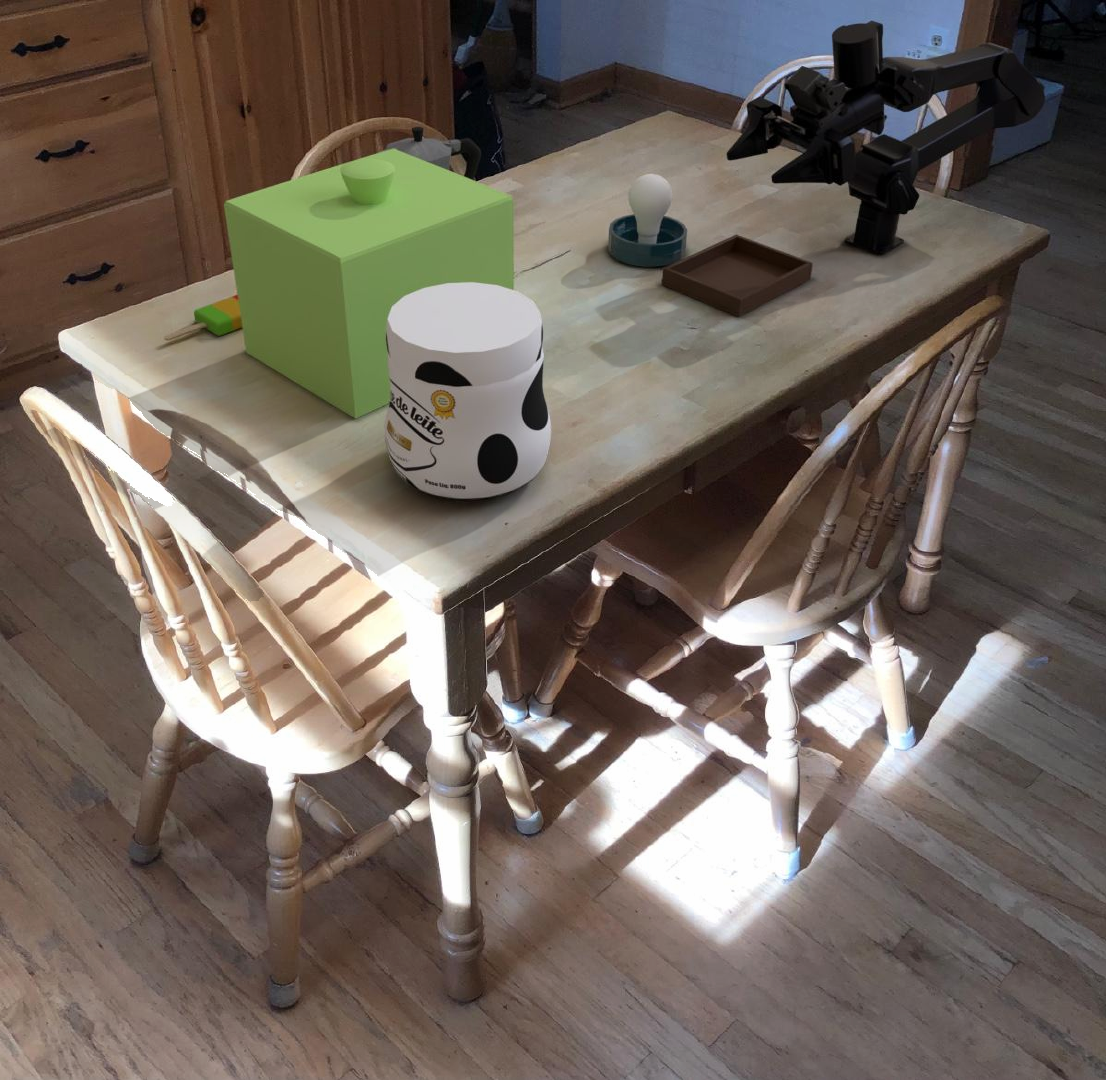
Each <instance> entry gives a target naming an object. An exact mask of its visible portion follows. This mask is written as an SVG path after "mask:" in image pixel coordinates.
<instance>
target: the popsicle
mask: <svg viewBox="0 0 1106 1080" xmlns="http://www.w3.org/2000/svg"><path fill="white" fill-rule="evenodd" d="M193 318H194V321H195V323H196V324H193V325H190V326H187V327H184V328H183V329H179V330H177V331H174V332H171V333H169V334H166V335H164V336H163V339H164V341H166V342H167V341H172V340H175V339H178V338H180V337H183V336H185V335H188V334H191V333H194V332H196V331H198V330H201V329H204V328H205V330H208V331H210V332H212V333H213V334H214V335H216V336H218V337H220V336H223V335H227V334H229V333H231V332H234V331H236V330H238V329H242V328H243V327H242V321H241V314H240V308H239V301H238V295H237V294H235V295H232V296H230V297H227V298H224V299H221V300H218V301H216V302H213V303H210V304H207V305H205V306H202V307H199V308H196V309H195V310H194V311H193Z"/></svg>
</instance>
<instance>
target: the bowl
mask: <svg viewBox="0 0 1106 1080" xmlns="http://www.w3.org/2000/svg"><path fill="white" fill-rule="evenodd" d="M687 236H688V228H687V226H685V224H684V223H683V222H681V221H680V220H678V219H676V218H673V217H670V216H667V215H664V217H663V219H662V221H661V224H660V228H659V233H658V234H657V241H656V244H644V243H638V232H637V222H636V218H635V215H634V213H633V214H628V215H623V216H621V217H617V218H615V219H614V220H613V221H611V222H610V223H609V227H608V240H607V251H608V253H609V255H610V256H612V257H613V258H614V259H615V260H617V261H619V262H621V263H624V264H628V265H631V266H637V267H647V268H650V267H665V266H669V265H671V264H673V263H675V262H677V261H680V260H682V259H684V258H685V255H686V248H687V238H688V237H687Z"/></svg>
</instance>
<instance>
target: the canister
mask: <svg viewBox="0 0 1106 1080" xmlns="http://www.w3.org/2000/svg"><path fill="white" fill-rule="evenodd" d="M379 152H380V151H379ZM514 203H515V202H514V198H513V196H512V194H509V193H506V192H502V191H500V190H498V189H495V188H493V187H490V186H488V185H486V184H483V183H481V182H478V181H476V180H471V179H469V178H466V177H464V175H461V174H459V173H456V172H454V171H452V170H450V169H449V170H446V169H444V168H441V167H439V166H436V165H434V164H431V163H429V162H426V161H424V160H421V159H419V158H416V157H414V156H411V155H408V154H406V153H403V152H401V151H399V150H397V149H390V150H387V151H383V152H380V153H377V152H376V153H373V154H371V155H367V156H363V157H360V158H357V159H354V160H351V161H348V162H344V163H342V164H338V165H335V166H332V167H329V168H326V169H322V170H319V171H316V172H313V173H310V174H307V175H302V176H299V177H296V178H294V179H290V180H288V181H287V180H286V181H284V182H281V183H278V184H274V185H271V186H268V187H265V188H262V189H259V190H255V191H252V192H249V193H246V194H243V195H240V196H236V197H234V198H230V199H228V200H226V201H225V202H224V204H223V209H224V216H225V221H226V228H227V229H226V230H227V235H228V241H229V249H230V255H231V261H232V262H231V263H232V269H233V275H234V280H235V288H236V295H238V301H239V308H240V314H241V321H242V327H241V328H242V334H243V341H244V347H245V352H246V354H247V355H249V356H251V357H252V358H254V359H256V360H257V361H259V362H261V363H262V364H264V365H266V366H268V367H269V368H271V369H272V370H274V371H275V372H278V373H279V374H281V375H283V376H284V377H285V378H288V379H289V380H291V381H293V382H294V383H296V384H297V385H299V386H301V387H302V388H304V389H306V390H307V391H309V392H310V393H312V394H314V395H315V396H317V397H318V398H320V399H322V400H324V401H325V402H327V403H329V404H331V405H332V406H334V407H335V408H337V409H339V410H341V411H342V412H344V413H345V414H347V415H349V416H350V417H352V418H354V419H357V418H360V417H362V416H364V415H367V414H369V413H372V412H373V411H376V410H377V409H379V408H382V407H384V406H385V405H389V401H390V395H391V387H390V376H389V368H388V350H387V345H386V325H387V319H388V316H389V313H390V310H391V308H392V306H393V305H394V304H396V303H397V302H398V301H399V300H400V299H402V298H403V297H404V296H406V295H408V294H411V293H413V292H415V291H418V290H420V289H423V288H426V287H431V286H436V285H441V284H446V283H466V282H475V283H483V284H492V285H498V286H502V287H505V288H508V289H511V290H514V291H515V285H514V284H515V275H514V274H515V268H514V267H515V264H514V263H515V262H514V261H515V260H514V259H515V258H514V257H515V255H514V254H515V249H514V248H515V247H514V246H515V243H514V241H515V240H514V234H515V233H514V225H515V224H514V223H515V221H514V219H515V217H514V216H515V214H514V210H515V209H514V208H515V207H514V206H515V205H514Z"/></svg>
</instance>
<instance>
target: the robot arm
mask: <svg viewBox="0 0 1106 1080" xmlns="http://www.w3.org/2000/svg"><path fill="white" fill-rule="evenodd" d="M883 37H884V24H883V23H880V22H878V21H874V20H869V21H868V22H866V23H865V22H862V23H859V22H858V23H852V24H848V25H845V24H843V25H840V26H839V27H837V28H835V29H834V30H833V32H832V33H831V43H832V58H833V75H834V76H833V77H834V78H833V79H830V78H829V77H827V76H825V75H823V74H822V73H821V72H819V71H817V70H814V69H811V68H809V67H807V66H804V65H801V66H800V67H799V68H798V69H797V70H796V71H794V73H793V74H792V75H791V76H790V77H789V78H788V79H787V80H786V81H785V82H784V84H783V85H784V89H785V90H786V91H787V92H788V94H789V96H790V98H791V100H792V102H793V104H794V105H791V106H790V107H789V113H790V116H791V117H792V120H788V119H786V118H784V117H783V111H782V106H780V105H779V104H777V103H776V102H773V101H770V100H769V99H767V98H764V97H761V96H758V97H755V98H754V99H752V100H750V101H748V102H747V104H746V112H747V113H746V114H747V120H748V124H747V126H746V128H745V129H744V131H743V132H742V133H741V134H740V135H739V137H738V138H737V140H736V141H735V142H734V143H733V145H732V146H730V148H729V149H728V150H727V152H726V159H727V160H728V161H737V160H743V159H747V158H752V157H756V156H761V155H765V154H768V153H769V150H774V149H776V148H778V147H779V146H781V144H782V142H783V140H786V141H787V142H789V143H792V144H794V145H795V151H798V152H799V153H801V154H799V155H798V156H796V157H795V158H794V159H792V160H791V161H789V162H788V163H786V164H785V165H783V166H782V167H780V168H779V169H778V170H776V171H775V172H774V173H773V174H772V175H771V183H772V184H776V185H777V184H826V185H833V184H836V185H837V186H841V187H842V186H843V185H845V184H847V186H848V193H849V194H848V195H849V196H850V197H852V198H855V199H858V200H860V204H859V208H858V213H857V218H856V225H855V229H854V233H853V234H850V235H849V236H847V237H844V238H843V242H844V243H845V244H847V245H850V246H853V247H856V248H859V249H862V250H864V251H867V252H870V253H873V254H875V255H879V256H883V255H885V254H886V253H888V252H891V251H892V250H894V249H895V248H898V247H900V246H901V245H903V244H905V239H904V238H901V237H899V236H897V231H898V225H899V220H900V215H903V216H904V215H908V212H909V211H913V210H914V209H915V207H916V206H917V203H918V201H919V199H920V193H919V192H918V191H917V189H916V188H915V186H914V183H915V180H916V178H917V175H918V173H919V172H920V171H922V170H924V169H925V168H926V167H928V166H930V165H932V164H934V163H935V162H937V161H940V159H942V158H944V157H946V156H947V155H949V154H951V153H953V152H955V151H956V150H958V149H960V148H961V147H963V146H964V145H966V144H968V143H970V142H971V141H973V140H975V139H976V138H978V137H980V136H982V135H983V134H985V133H987V132H988V131H990V130H993V129H1003V128H1014V127H1017V126H1020V125H1023V124H1026V123H1027V122H1030V121H1032V120H1034V119H1035V118H1036V117H1037V116H1038V114H1040V112H1041V111H1042V109H1043V107H1044V106H1045V103H1046V94H1045V87H1044V85H1043V83H1042V82H1041V81H1039V80H1038V79H1037V78H1036V76H1035V75H1034V74H1033V73H1031V72H1030V70H1028V68H1026V67H1025V65H1023V63H1021V62H1020V60H1019V59H1018V57H1017V55H1016V54H1015V52H1013V50H1012V49H1010V48H1007V47H1004V46H1001V45H998V44H995V43H992V42H986V43H981V44H979V46H975V47H970V48H968V49H963V50H959V51H955V52H951V53H946V54H942V55H937V56H934V57H929V58H926V59H925V58H924V59H919V58H911V57H906V56H885V57H884V51H883V50H884V49H883ZM973 84H975V85H976V86H977V88H978V89H977V91H976V94H975V96H974V98H973V99H971V100H970V101H969V102H966V103H964V104H963V105H961V106H960V107H958V108H957V109H954V110H953V111H951V112H949V113H948V114H945V115H944V116H943V117H941V118H939V119H937V120H935V121H933V122H931V123H930V124H928V125H927V126H925V127H923V128H921V129H920V130H918V131H916V132H915V133H913V134H911V135H909V136H907V137H906V138H904V139H902V140H899V139H897V138H895V137H892V136H891V135H888V134H886V133H883V132H884V130H885V123H886V120H887V118H888V116H887V114H885V106H887V107H890V108H892V109H895V110H897V111H900V112H903V113H910V112H912V111H914V110H916V109H918V108H921V107H922V106H925V105H926V104H928V103H929V102H930V101H931V99H932V98H933V97H934V95H936V94H938V93H943V92H946V91H950V90H953V89H954V90H955V89H957V88H958V89H959V88H961V87H966V86H969V85H973ZM861 130H866V131H868V132H870V133H872V134H875V135H877V137H875V138H874V139H873V140H871V141H870V142H868V143H864V144H863V143H862V144H860V148H861V149H859V150H858V151H857V152H856V139H855V138H853V137H852V136H853V135H854V134H857V133H858V132H860V131H861Z"/></svg>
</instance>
